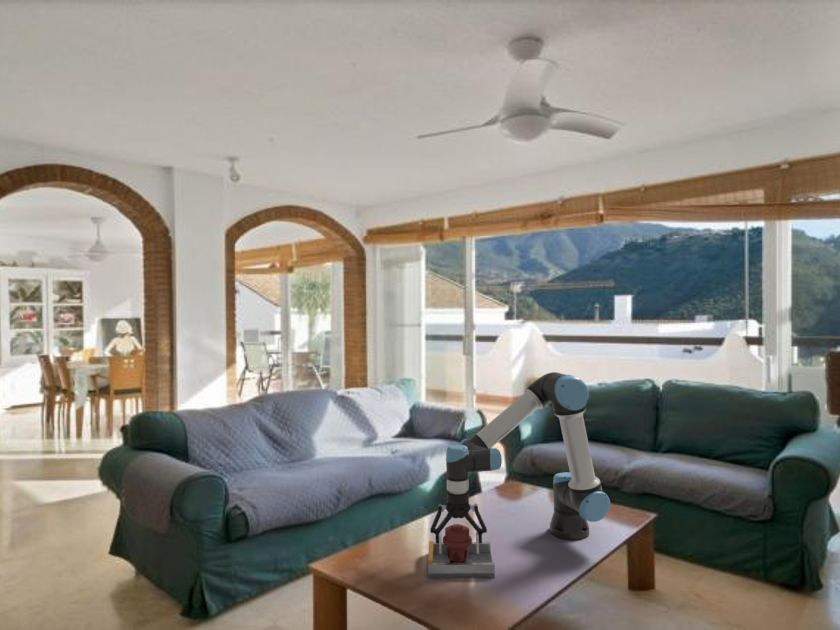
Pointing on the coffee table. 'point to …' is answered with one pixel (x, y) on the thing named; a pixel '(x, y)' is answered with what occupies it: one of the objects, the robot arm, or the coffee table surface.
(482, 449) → the robot arm
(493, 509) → the coffee table surface
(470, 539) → the mechanical component
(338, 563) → the coffee table surface
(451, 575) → the grey piece
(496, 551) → the coffee table surface
